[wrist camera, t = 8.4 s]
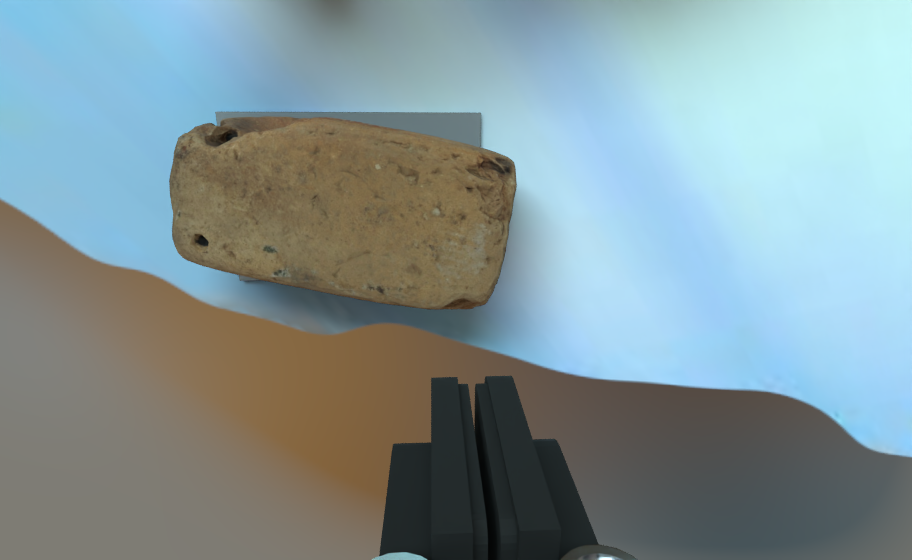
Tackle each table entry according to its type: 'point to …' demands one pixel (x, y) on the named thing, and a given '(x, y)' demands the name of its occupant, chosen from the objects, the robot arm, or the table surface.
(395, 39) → the table surface
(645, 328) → the table surface
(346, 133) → the block
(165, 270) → the table surface
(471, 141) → the mat
